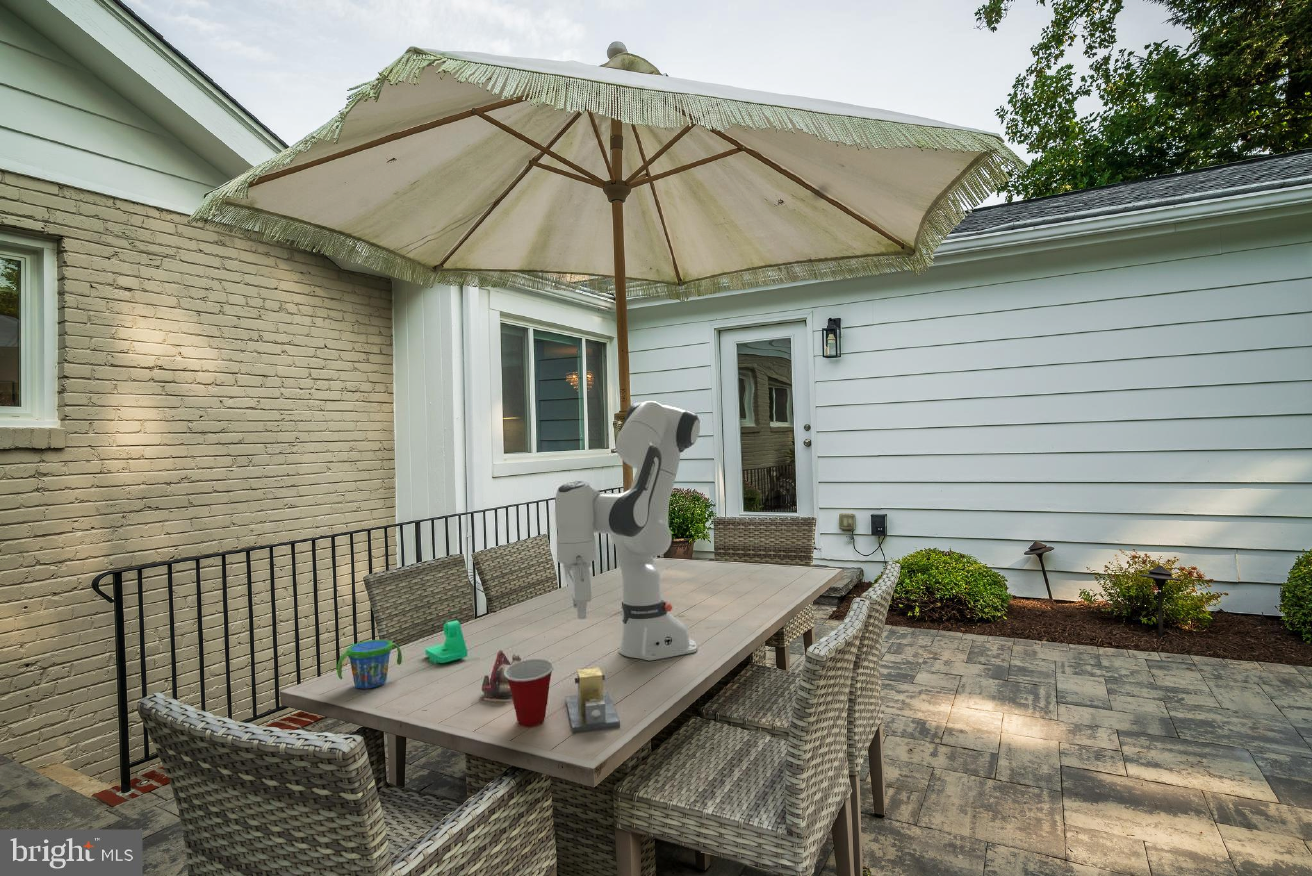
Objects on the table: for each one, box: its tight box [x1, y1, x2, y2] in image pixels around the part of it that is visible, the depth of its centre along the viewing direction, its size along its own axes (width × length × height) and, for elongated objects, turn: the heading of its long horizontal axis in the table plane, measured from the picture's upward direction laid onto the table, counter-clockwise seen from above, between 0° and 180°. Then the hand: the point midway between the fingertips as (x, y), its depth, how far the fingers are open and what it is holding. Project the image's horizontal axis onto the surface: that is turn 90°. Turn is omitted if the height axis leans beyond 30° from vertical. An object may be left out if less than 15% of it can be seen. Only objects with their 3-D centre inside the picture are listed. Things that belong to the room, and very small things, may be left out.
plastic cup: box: [504, 658, 554, 728], centre depth 139 cm, size 11×11×12 cm
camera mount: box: [425, 619, 468, 664], centre depth 183 cm, size 12×8×10 cm, turn 42°
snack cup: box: [336, 639, 403, 690], centre depth 165 cm, size 16×10×10 cm
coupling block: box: [574, 666, 606, 714], centre depth 142 cm, size 7×5×8 cm
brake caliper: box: [481, 649, 522, 703], centre depth 155 cm, size 11×10×11 cm
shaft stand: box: [565, 690, 621, 734], centre depth 142 cm, size 10×17×5 cm, turn 13°
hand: (579, 612), depth 146 cm, fingers open, 8 cm apart
